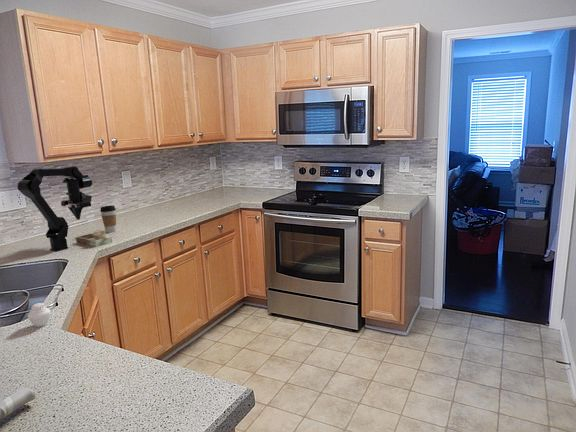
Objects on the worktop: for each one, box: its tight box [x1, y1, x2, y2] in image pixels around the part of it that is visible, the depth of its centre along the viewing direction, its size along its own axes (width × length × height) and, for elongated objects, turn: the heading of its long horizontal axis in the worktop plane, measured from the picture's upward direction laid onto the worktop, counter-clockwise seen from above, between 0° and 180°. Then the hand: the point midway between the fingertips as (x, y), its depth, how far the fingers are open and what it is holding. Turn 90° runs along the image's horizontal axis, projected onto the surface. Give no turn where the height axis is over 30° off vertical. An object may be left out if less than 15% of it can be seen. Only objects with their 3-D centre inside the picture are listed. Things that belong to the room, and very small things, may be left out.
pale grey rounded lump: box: [27, 302, 51, 328], centre depth 132 cm, size 6×6×7 cm
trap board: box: [75, 233, 113, 248], centre depth 228 cm, size 9×18×3 cm, turn 56°
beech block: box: [93, 229, 107, 240], centre depth 224 cm, size 4×4×4 cm
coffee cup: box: [99, 205, 117, 234], centre depth 250 cm, size 8×8×15 cm
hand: (78, 219), depth 229 cm, fingers closed
